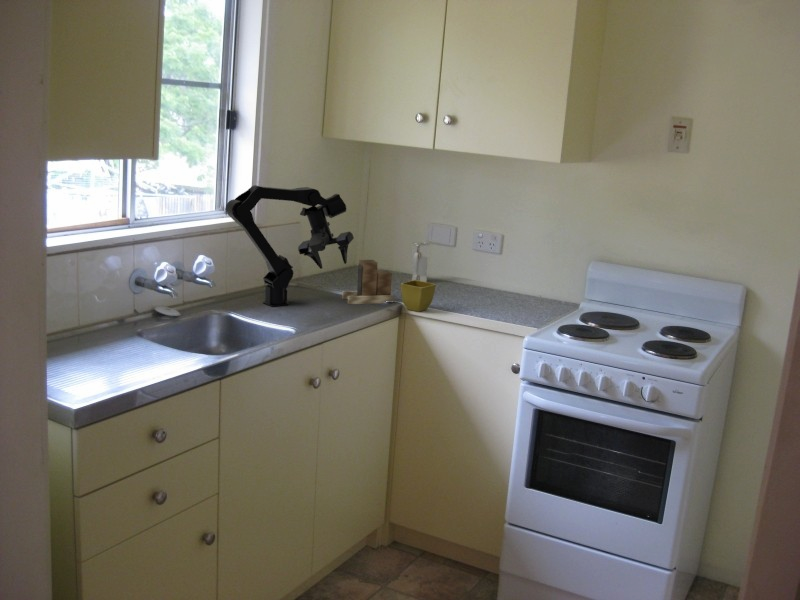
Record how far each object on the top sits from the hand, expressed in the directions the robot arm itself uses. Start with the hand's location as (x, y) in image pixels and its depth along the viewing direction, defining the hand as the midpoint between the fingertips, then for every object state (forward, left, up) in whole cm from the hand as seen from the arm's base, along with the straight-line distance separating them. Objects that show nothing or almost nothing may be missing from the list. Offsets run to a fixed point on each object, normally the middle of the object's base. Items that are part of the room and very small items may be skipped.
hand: (333, 265), depth 303 cm
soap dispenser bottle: (+48, +11, -12) cm, 51 cm away
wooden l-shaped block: (+11, -5, -12) cm, 17 cm away
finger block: (+10, -6, -12) cm, 17 cm away
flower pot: (+18, -24, -12) cm, 32 cm away
